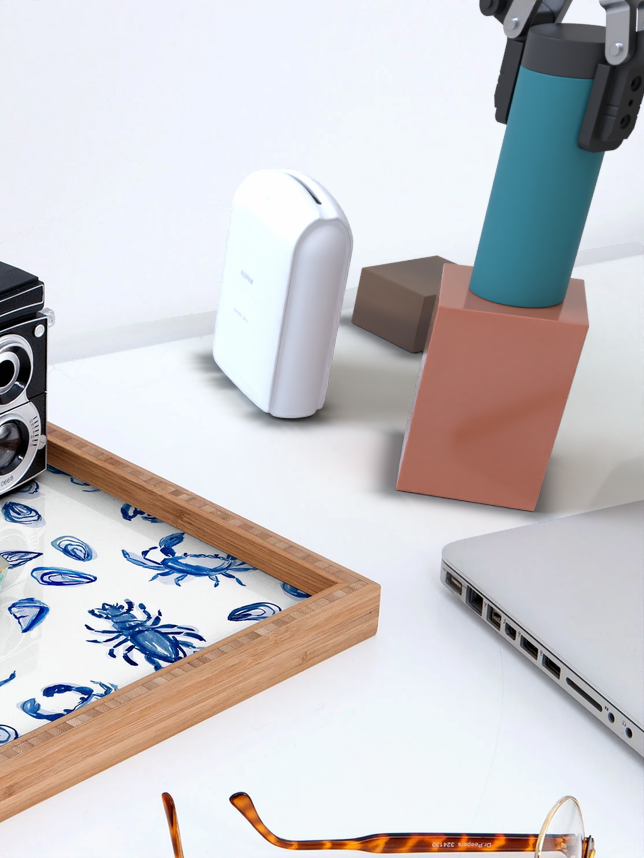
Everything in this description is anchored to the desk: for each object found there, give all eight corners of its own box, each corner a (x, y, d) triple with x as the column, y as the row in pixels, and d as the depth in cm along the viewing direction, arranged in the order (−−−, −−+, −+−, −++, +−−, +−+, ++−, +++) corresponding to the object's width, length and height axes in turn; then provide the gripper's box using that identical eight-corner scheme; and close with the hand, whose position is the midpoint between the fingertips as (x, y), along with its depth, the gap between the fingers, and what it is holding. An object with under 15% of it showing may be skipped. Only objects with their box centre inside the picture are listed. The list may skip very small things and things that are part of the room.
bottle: (585, 300, 72) (515, 313, 71) (517, 272, 76) (449, 284, 74) (659, 38, 66) (584, 45, 64) (580, 19, 69) (507, 26, 67)
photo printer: (201, 356, 92) (229, 152, 85) (265, 352, 93) (298, 150, 86) (261, 423, 84) (298, 204, 77) (331, 419, 85) (374, 201, 77)
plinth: (533, 457, 81) (584, 279, 75) (534, 512, 76) (589, 325, 70) (403, 437, 83) (444, 262, 77) (395, 490, 77) (438, 305, 72)
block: (412, 353, 93) (425, 296, 91) (350, 322, 98) (361, 267, 95) (488, 338, 96) (502, 282, 94) (424, 308, 100) (437, 254, 98)
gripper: (474, -311, 63) (391, 109, 73) (760, -304, 52) (618, 184, 62) (600, -308, 66) (503, 96, 76) (895, -300, 55) (738, 166, 65)
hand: (556, 134), depth 69 cm, fingers closed on bottle, 4 cm apart
